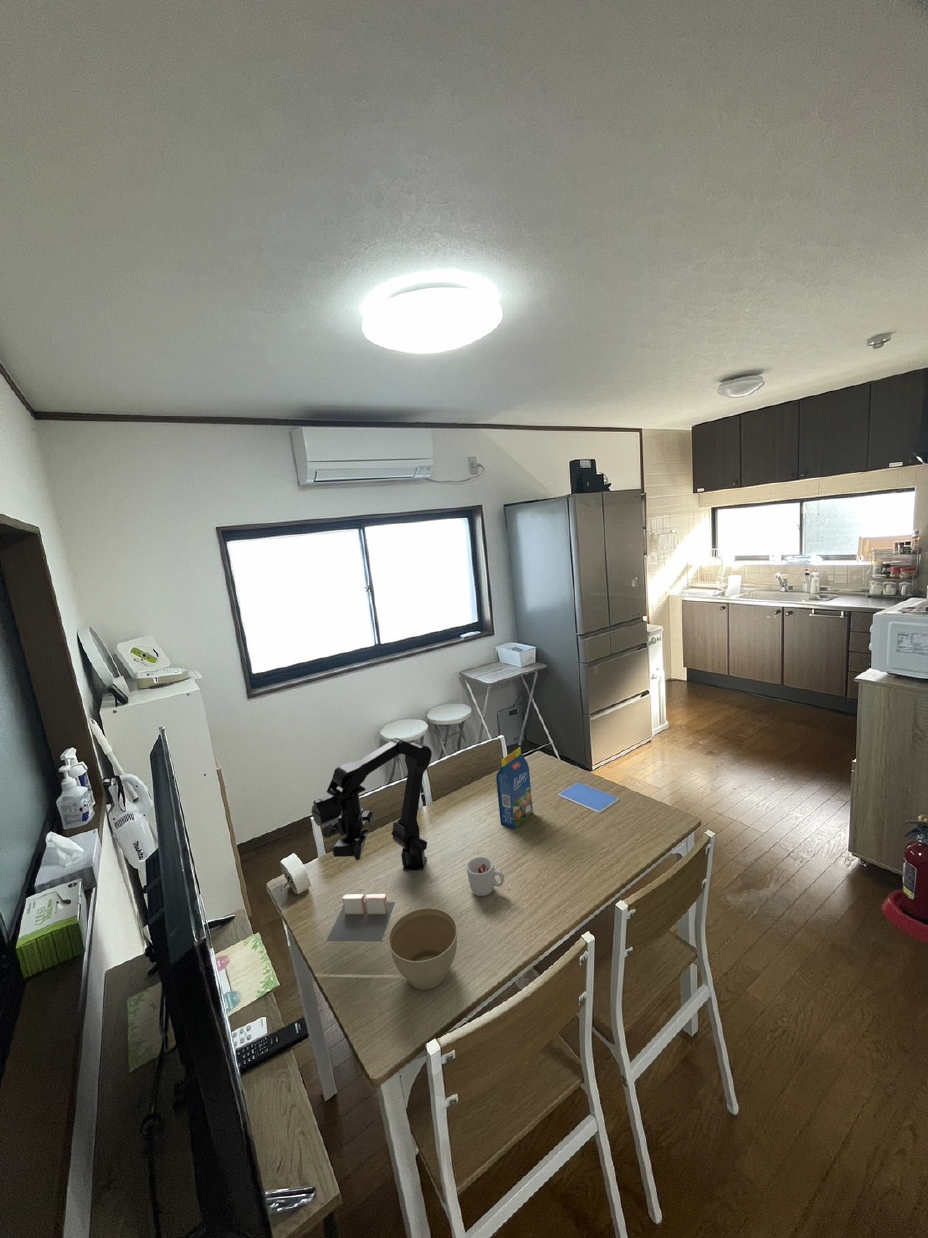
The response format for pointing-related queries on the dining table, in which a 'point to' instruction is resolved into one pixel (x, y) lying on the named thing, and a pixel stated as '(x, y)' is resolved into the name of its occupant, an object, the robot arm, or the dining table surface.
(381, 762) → the robot arm
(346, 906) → the tile
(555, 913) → the dining table surface
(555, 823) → the dining table surface
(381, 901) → the tile
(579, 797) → the tablet computer
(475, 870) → the cup
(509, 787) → the blue food package
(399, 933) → the planter bowl
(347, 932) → the mat
